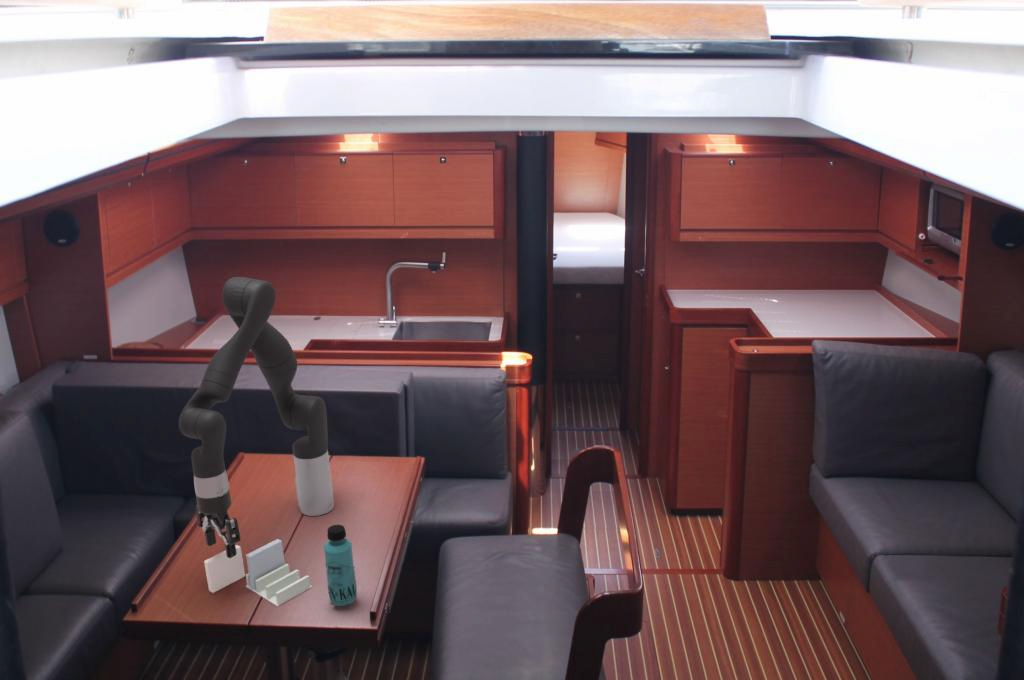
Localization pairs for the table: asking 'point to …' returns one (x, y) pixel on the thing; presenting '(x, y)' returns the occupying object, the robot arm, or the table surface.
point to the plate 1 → (224, 570)
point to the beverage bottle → (340, 567)
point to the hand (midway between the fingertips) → (221, 550)
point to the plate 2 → (265, 560)
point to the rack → (280, 585)
